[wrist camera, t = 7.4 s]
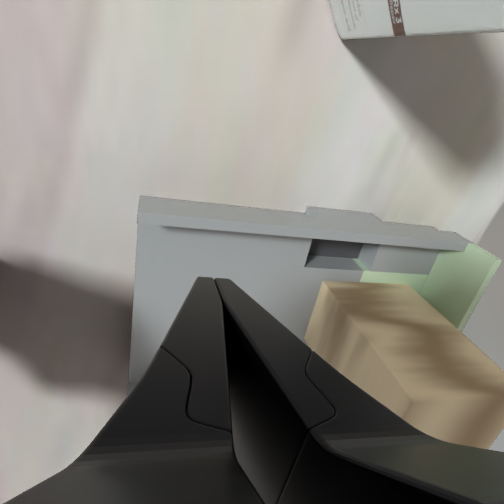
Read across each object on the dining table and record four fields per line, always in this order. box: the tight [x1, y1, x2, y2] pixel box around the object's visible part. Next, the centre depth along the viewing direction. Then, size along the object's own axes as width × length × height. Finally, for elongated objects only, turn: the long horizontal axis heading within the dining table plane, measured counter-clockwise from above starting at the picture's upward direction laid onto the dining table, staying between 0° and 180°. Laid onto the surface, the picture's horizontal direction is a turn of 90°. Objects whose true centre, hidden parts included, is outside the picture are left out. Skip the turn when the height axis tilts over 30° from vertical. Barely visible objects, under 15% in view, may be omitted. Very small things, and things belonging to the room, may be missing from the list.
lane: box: [127, 196, 502, 396], centre depth 24 cm, size 21×14×6 cm, turn 79°
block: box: [304, 281, 504, 449], centre depth 22 cm, size 7×5×10 cm
